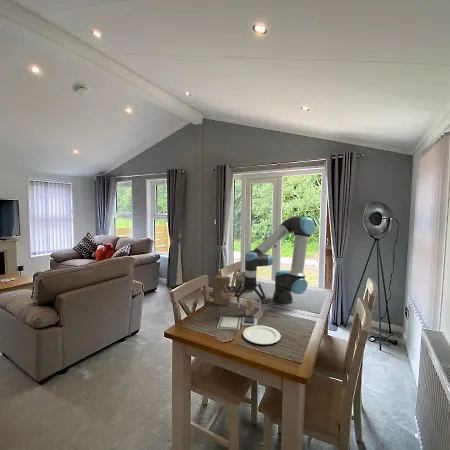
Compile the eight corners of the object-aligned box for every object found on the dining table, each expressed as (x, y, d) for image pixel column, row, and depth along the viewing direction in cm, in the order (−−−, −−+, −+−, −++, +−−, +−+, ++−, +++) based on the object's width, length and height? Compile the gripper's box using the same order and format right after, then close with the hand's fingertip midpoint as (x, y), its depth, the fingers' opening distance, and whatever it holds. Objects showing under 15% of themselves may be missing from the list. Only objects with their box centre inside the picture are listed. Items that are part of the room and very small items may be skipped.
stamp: (253, 314, 175) (254, 299, 174) (253, 317, 170) (253, 302, 169) (246, 313, 175) (246, 299, 174) (245, 317, 170) (246, 302, 169)
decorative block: (230, 303, 193) (230, 277, 191) (226, 306, 188) (227, 279, 186) (217, 301, 198) (217, 275, 196) (213, 303, 193) (213, 276, 191)
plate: (254, 350, 132) (254, 347, 132) (236, 331, 151) (236, 328, 151) (288, 342, 141) (288, 339, 140) (267, 325, 160) (267, 322, 159)
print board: (241, 318, 168) (241, 316, 168) (239, 330, 152) (239, 328, 152) (220, 317, 170) (220, 315, 170) (217, 328, 154) (217, 327, 154)
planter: (248, 294, 214) (248, 277, 212) (231, 290, 222) (231, 274, 221) (256, 289, 227) (257, 273, 226) (240, 285, 235) (241, 270, 234)
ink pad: (256, 320, 166) (256, 316, 166) (256, 326, 157) (256, 323, 157) (242, 319, 167) (242, 315, 167) (241, 325, 158) (241, 322, 158)
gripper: (269, 275, 172) (268, 307, 174) (231, 273, 175) (231, 304, 177) (270, 278, 165) (269, 311, 167) (230, 276, 168) (230, 308, 170)
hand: (249, 308), depth 172 cm, fingers open, 13 cm apart
